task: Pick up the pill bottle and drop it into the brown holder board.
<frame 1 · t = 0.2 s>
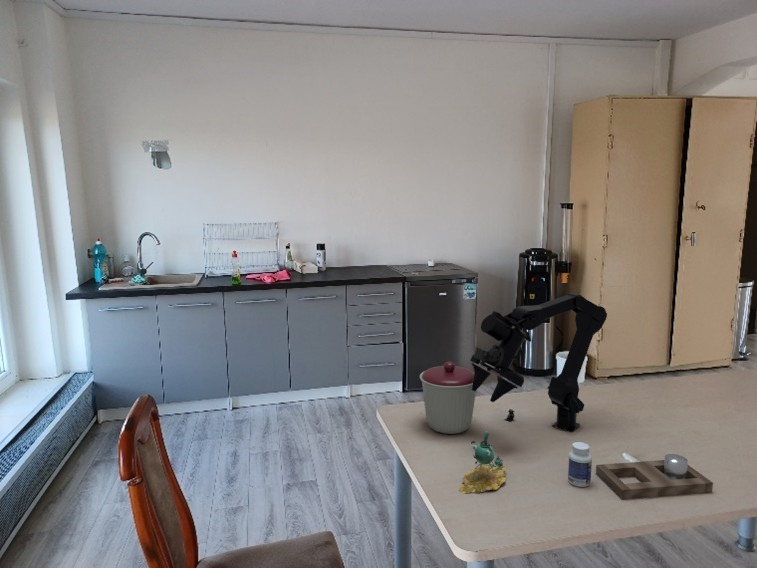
hand: (482, 396, 152), 15 cm above the table, fingers open, 9 cm apart
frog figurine: (487, 482, 135), on the table
canister: (448, 427, 167), on the table
steel peg: (674, 481, 134), resting in brown holder board
sculpture: (509, 421, 172), on the table
pill bottle: (579, 482, 134), on the table
brown holder board: (651, 482, 133), on the table
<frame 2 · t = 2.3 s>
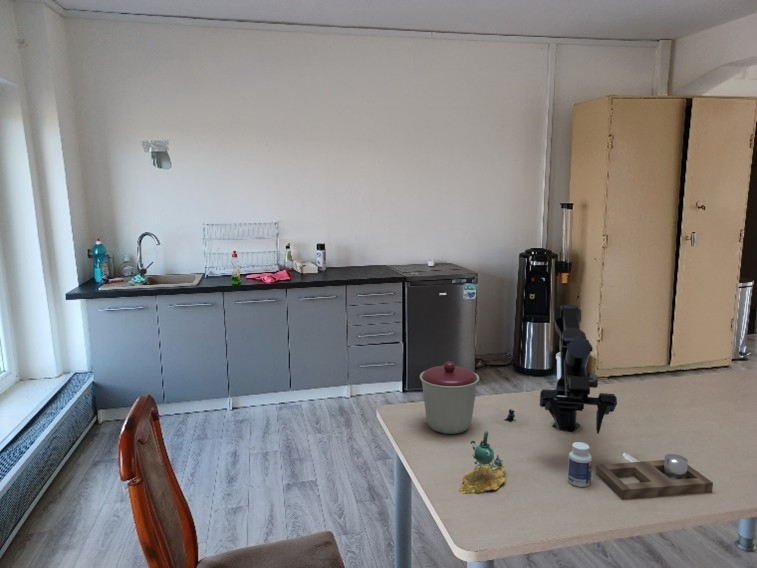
hand: (578, 431, 137), 11 cm above the table, fingers open, 9 cm apart
nothing on the table moved.
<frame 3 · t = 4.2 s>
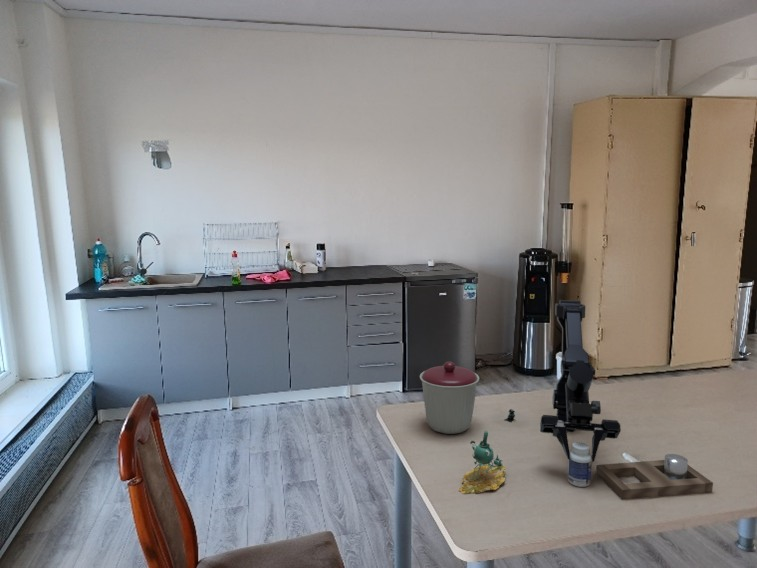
hand: (581, 460, 132), 7 cm above the table, fingers closed on pill bottle, 5 cm apart
pill bottle: (579, 482, 134), on the table, touching gripper
everything else where it was.
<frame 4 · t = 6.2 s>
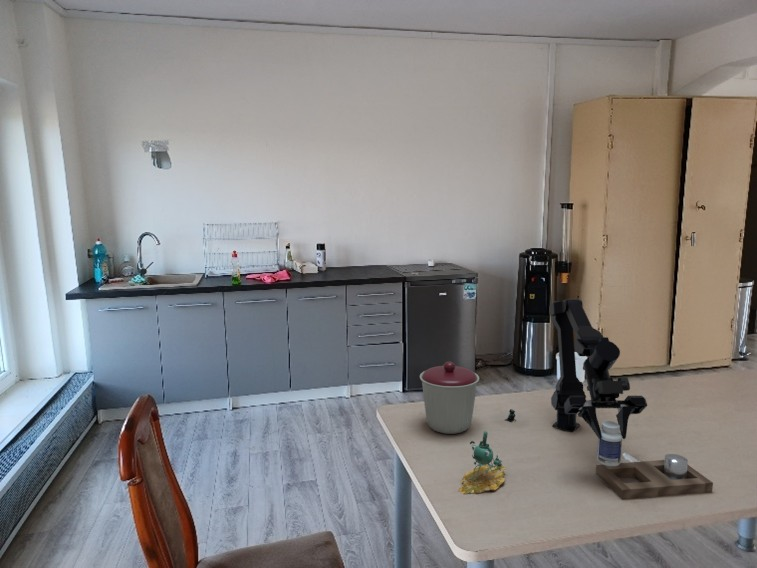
hand: (612, 438, 130), 13 cm above the table, fingers closed on pill bottle, 5 cm apart
pill bottle: (608, 462, 132), point 6 cm above the table, touching gripper
everything else where it was.
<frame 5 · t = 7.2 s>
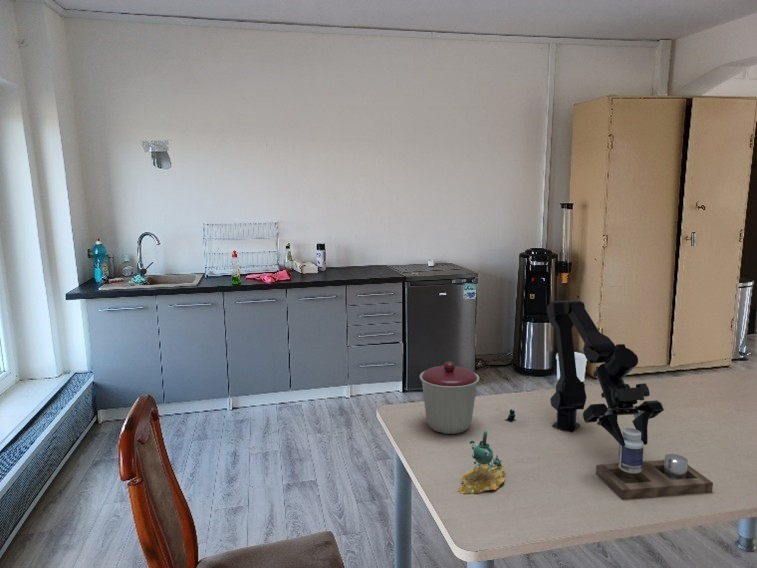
hand: (634, 445, 130), 11 cm above the table, fingers closed on pill bottle, 5 cm apart
pill bottle: (629, 469, 132), point 4 cm above the table, touching gripper
everything else where it was.
when the fingers open (8 cm above the table, at t = 8.1 s): pill bottle drops 1 cm, resting in brown holder board.
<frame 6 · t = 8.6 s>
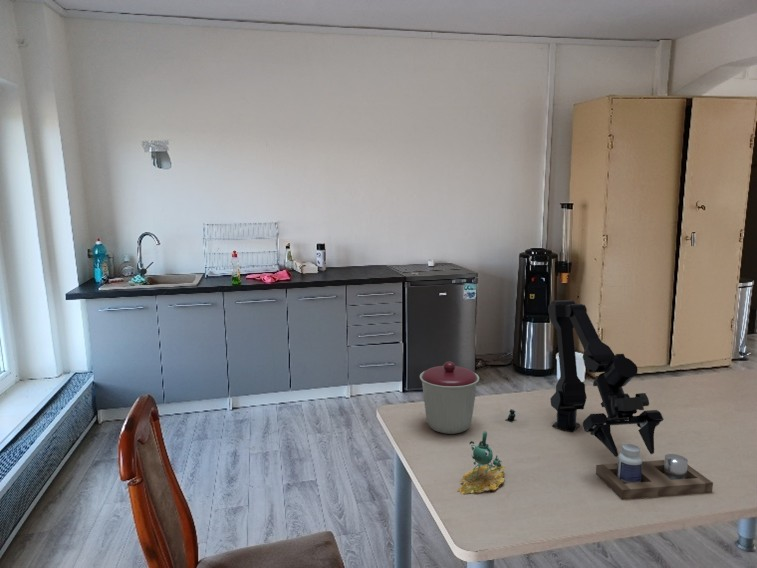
hand: (634, 454, 130), 9 cm above the table, fingers open, 9 cm apart
pill bottle: (628, 484, 133), resting in brown holder board
everything else where it was.
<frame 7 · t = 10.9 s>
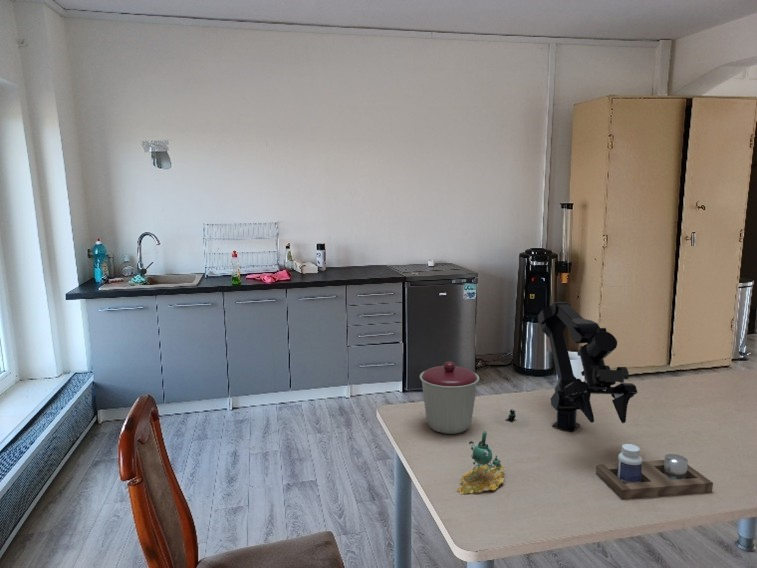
hand: (608, 422, 139), 13 cm above the table, fingers open, 9 cm apart
nothing on the table moved.
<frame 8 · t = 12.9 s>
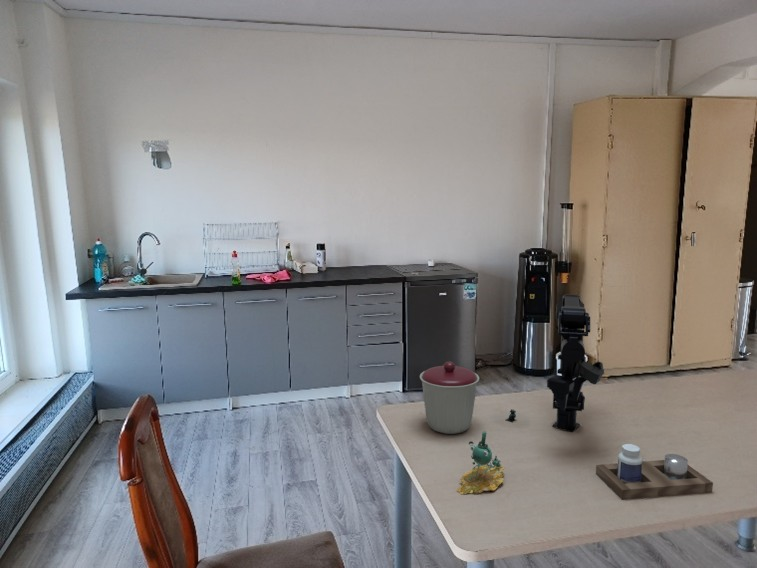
hand: (569, 405, 152), 12 cm above the table, fingers open, 9 cm apart
nothing on the table moved.
at the end: pill bottle 0.2 cm from the target spot on the brown holder board, point 0.0 cm above the brown holder board's base; pill bottle tilted 0°; the gripper is holding nothing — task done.
